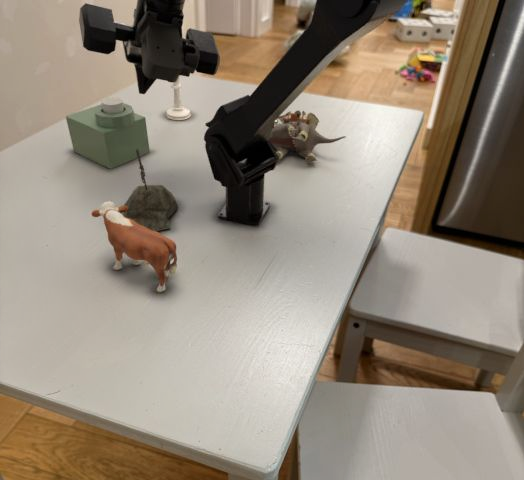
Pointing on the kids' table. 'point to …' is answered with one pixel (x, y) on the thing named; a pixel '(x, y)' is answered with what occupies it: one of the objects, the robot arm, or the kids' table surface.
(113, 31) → the robot arm
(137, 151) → the sword in stone
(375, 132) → the kids' table surface
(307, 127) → the figurine
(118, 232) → the bull figurine
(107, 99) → the flush button
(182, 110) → the chess piece
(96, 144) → the green push button box
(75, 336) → the kids' table surface
